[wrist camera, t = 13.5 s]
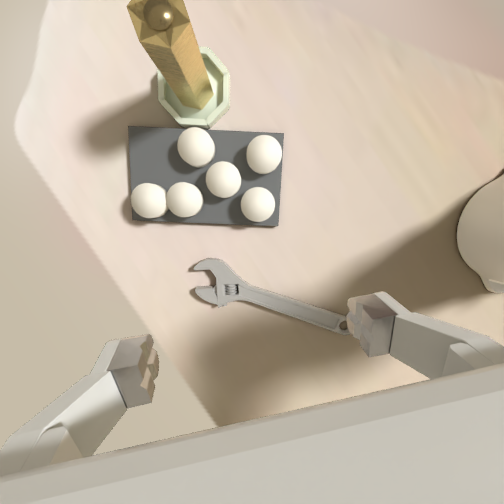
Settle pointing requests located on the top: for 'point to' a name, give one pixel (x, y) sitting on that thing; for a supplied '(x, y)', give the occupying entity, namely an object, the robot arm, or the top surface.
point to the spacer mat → (205, 175)
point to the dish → (215, 105)
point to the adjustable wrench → (262, 297)
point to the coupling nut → (172, 48)
